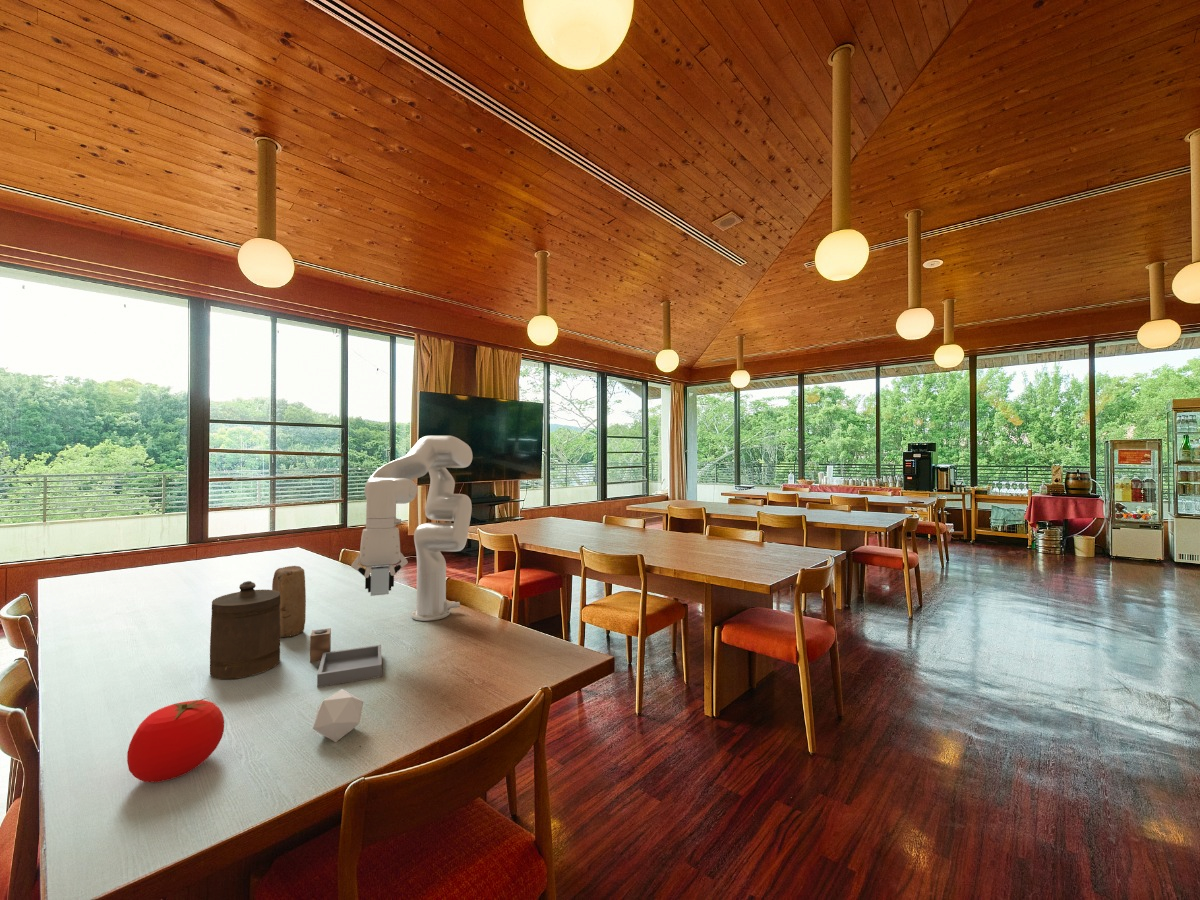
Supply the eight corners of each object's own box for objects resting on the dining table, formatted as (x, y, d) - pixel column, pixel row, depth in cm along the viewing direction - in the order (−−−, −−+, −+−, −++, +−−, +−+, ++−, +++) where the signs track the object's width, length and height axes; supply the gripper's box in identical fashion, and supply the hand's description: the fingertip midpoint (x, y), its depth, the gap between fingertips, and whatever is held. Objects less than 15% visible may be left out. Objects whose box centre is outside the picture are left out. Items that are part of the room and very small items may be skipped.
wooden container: (272, 650, 139) (273, 572, 139) (286, 667, 129) (287, 582, 129) (205, 666, 129) (206, 581, 129) (214, 686, 118) (215, 593, 118)
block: (307, 634, 152) (307, 568, 152) (278, 640, 146) (279, 572, 147) (296, 625, 159) (297, 563, 160) (269, 631, 154) (269, 566, 154)
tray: (381, 655, 136) (381, 644, 136) (381, 676, 124) (381, 664, 124) (322, 664, 131) (323, 652, 131) (317, 687, 118) (317, 674, 118)
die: (338, 722, 104) (308, 695, 100) (376, 700, 105) (347, 673, 100) (330, 757, 97) (297, 730, 92) (370, 734, 97) (339, 706, 93)
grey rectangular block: (388, 590, 140) (388, 564, 140) (388, 594, 136) (389, 568, 136) (370, 591, 138) (371, 566, 138) (370, 595, 134) (371, 569, 134)
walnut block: (330, 653, 138) (330, 627, 138) (329, 659, 134) (329, 633, 134) (311, 656, 136) (312, 630, 136) (309, 662, 132) (310, 635, 132)
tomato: (107, 785, 83) (108, 716, 83) (198, 740, 96) (199, 681, 96) (152, 804, 79) (153, 731, 79) (242, 755, 91) (242, 692, 92)
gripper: (412, 521, 144) (411, 584, 144) (347, 523, 137) (345, 590, 137) (414, 524, 137) (413, 590, 137) (346, 526, 130) (344, 596, 130)
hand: (379, 589), depth 137 cm, fingers closed on grey rectangular block, 4 cm apart
